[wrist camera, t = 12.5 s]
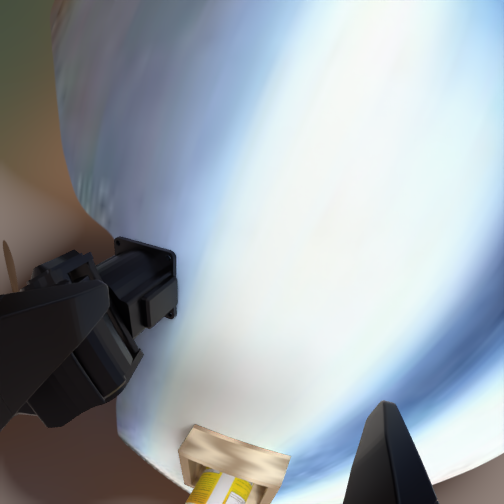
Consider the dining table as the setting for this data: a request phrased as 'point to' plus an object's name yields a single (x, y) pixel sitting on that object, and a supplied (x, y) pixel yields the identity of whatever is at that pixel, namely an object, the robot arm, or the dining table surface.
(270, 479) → the birch box
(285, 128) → the dining table surface
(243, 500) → the supplement bottle
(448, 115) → the dining table surface
